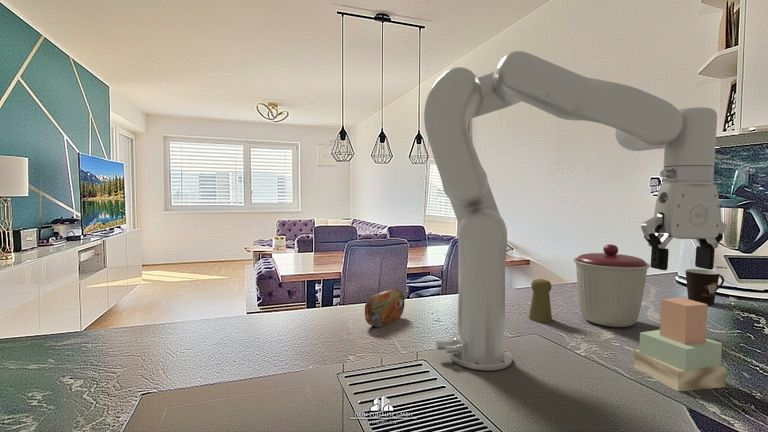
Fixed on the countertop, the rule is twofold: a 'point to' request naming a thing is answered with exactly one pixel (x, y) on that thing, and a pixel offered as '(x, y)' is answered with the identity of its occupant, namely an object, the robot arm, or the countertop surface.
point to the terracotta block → (683, 320)
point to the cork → (540, 301)
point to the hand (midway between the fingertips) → (681, 268)
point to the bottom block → (681, 374)
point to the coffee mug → (702, 285)
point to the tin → (384, 307)
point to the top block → (680, 351)
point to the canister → (610, 287)
